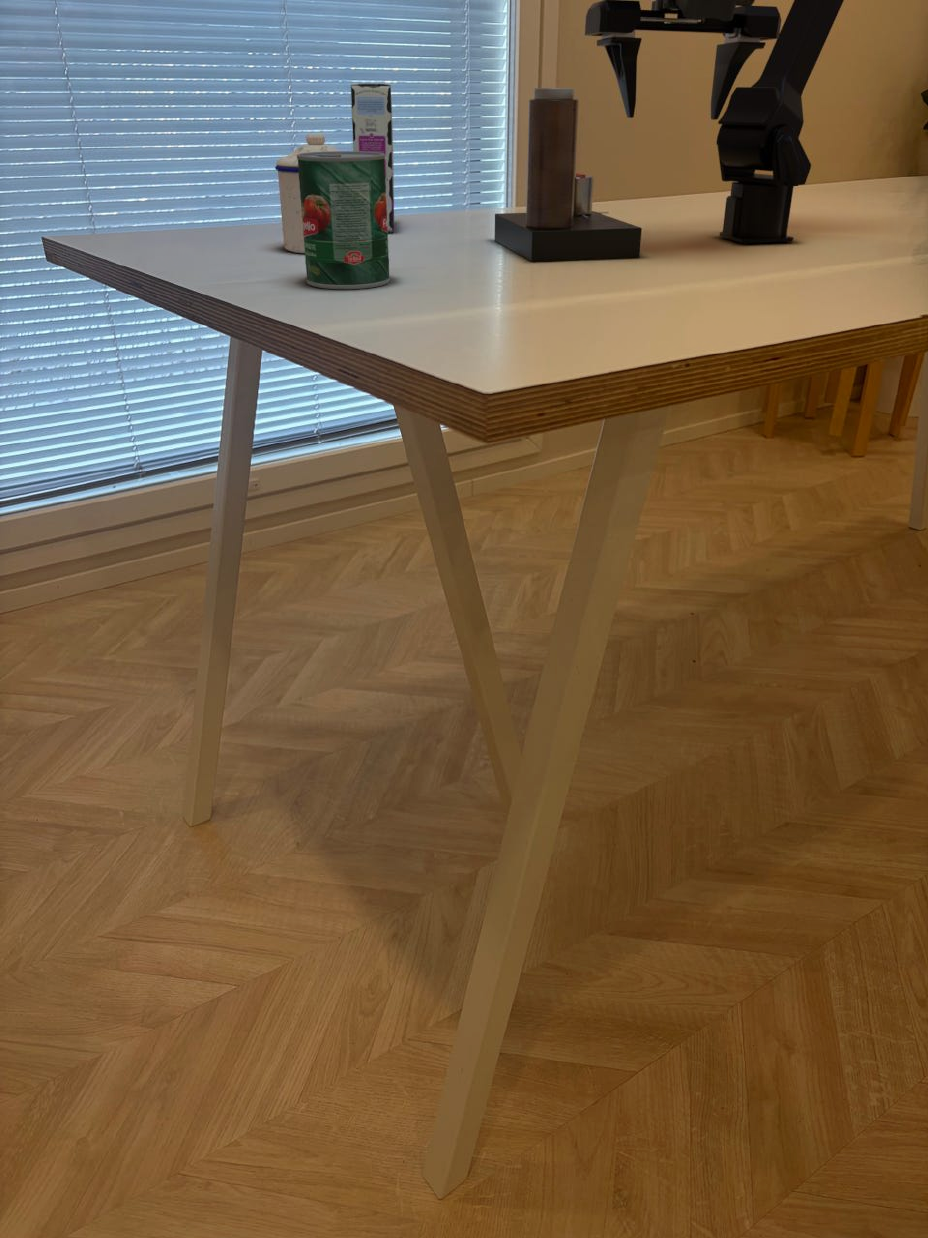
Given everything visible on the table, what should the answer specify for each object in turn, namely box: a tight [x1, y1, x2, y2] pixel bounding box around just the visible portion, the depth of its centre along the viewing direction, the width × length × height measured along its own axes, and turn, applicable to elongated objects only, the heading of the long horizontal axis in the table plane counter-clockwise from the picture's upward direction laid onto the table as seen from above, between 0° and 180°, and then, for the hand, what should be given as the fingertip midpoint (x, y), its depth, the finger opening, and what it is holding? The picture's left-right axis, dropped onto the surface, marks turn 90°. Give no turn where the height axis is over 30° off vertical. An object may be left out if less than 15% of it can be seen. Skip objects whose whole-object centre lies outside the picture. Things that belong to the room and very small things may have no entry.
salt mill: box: [525, 87, 580, 229], centre depth 103 cm, size 5×5×13 cm
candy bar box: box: [350, 83, 395, 233], centre depth 124 cm, size 11×5×16 cm, turn 5°
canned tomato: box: [297, 150, 391, 290], centre depth 91 cm, size 8×8×11 cm
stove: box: [494, 210, 643, 263], centre depth 111 cm, size 13×17×3 cm
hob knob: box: [573, 172, 595, 216], centre depth 114 cm, size 4×4×4 cm
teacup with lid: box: [274, 133, 340, 254], centre depth 111 cm, size 12×9×12 cm
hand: (672, 118), depth 103 cm, fingers open, 9 cm apart
